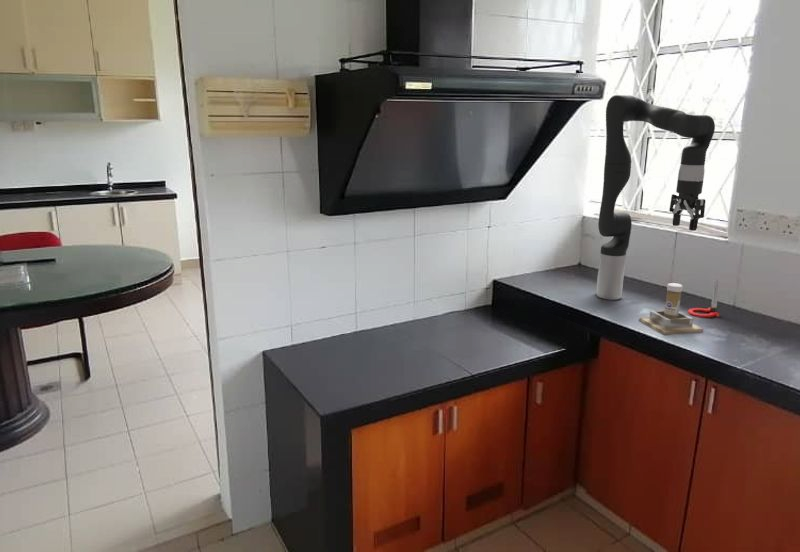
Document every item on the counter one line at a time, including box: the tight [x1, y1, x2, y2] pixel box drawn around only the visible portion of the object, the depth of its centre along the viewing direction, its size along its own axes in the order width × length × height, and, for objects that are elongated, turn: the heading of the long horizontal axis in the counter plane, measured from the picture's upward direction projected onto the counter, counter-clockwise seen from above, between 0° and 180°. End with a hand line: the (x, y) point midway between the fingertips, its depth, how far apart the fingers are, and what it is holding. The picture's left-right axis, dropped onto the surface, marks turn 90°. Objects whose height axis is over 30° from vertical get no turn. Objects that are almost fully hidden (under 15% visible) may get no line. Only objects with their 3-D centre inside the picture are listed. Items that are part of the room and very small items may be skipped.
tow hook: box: [687, 278, 721, 318], centre depth 203 cm, size 8×13×9 cm
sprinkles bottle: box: [663, 282, 684, 319], centre depth 191 cm, size 5×5×14 cm
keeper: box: [638, 309, 704, 336], centre depth 192 cm, size 14×14×4 cm
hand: (684, 227), depth 191 cm, fingers open, 8 cm apart
